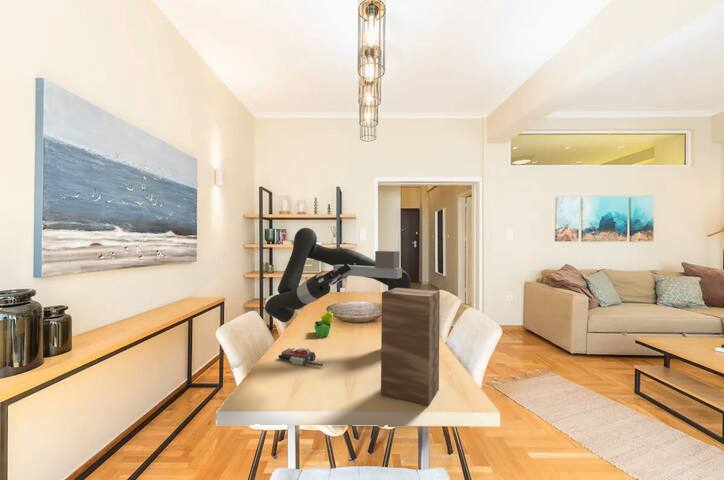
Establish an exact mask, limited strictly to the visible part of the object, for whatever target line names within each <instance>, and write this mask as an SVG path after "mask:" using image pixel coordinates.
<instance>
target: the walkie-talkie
mask: <svg viewBox="0 0 724 480" xmlns="http://www.w3.org/2000/svg"><path fill="white" fill-rule="evenodd" d="M316 356H317V355H316V353H315V351H310V349H309V348H305V347H299V348H297V349H296V348H295V347H292V348H287V349H285V350H282V352H281V354H279V355H277V357H278V358H279V359H281V360H282V361H288V362H291V363H292V364H293V365H297V366H301V367H302V366H304V365H311V366H320V367H323V366H324V363H321V362H316V361H315V362H314V360H315V359H316Z"/></svg>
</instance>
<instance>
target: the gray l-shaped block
mask: <svg viewBox="0 0 724 480" xmlns="http://www.w3.org/2000/svg"><path fill="white" fill-rule="evenodd" d="M374 251H375V254H374V255H375V258H374V259H375V260H374V261H375V266H357V265H349V266H350V270H349V271H348V272H346V273H344V274H343V275H348V276H349V277H362V276H363V278H367V277H378V278H394V279H398V278H402V270H403V267H400V251H399V250H398V251H397V250H374ZM342 266H344V265H333V266H332V267H333V268H332V270H335V269H338V270H339V268H340V267H342ZM348 276H347V277H348Z"/></svg>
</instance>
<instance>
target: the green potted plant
mask: <svg viewBox="0 0 724 480" xmlns="http://www.w3.org/2000/svg"><path fill="white" fill-rule="evenodd" d="M320 318H321V320H319V321H318V320H317V321H314V330H315V335H316V337H317V338H320V337H321V338H326V337H327V338H328V337H329V334H330V330H331V326H332V324H331V323H332V322H333V318H334V313H333V311H332V310H327V311H326V313H324V314H323V315H322V316H321V317H320Z"/></svg>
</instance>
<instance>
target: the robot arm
mask: <svg viewBox="0 0 724 480" xmlns="http://www.w3.org/2000/svg"><path fill="white" fill-rule="evenodd" d="M317 242H318V235H317V234H316V232H315V230H313V229H311V228H309V227H303V228H299V229H298V230H297V232H296V233H295V235H294V238H293V245H292V251H291V255H290V257H289V260H288V262H287V264H286V267H285V269H284V272H283V274H282V277H281V278H280V281H279V285H278V287H277V292H278V294H275V295H272V296H271V297H269V299H268V300H267V301H266V302H265V306H264V311H265V312H266V313H267V314H268V315H269V316H271V317H273V318H274V319H276V320H277V321H280V322H281V323H288V322H289V321H291V319H292V318H293V317H294V315H295V312H296V310H297V311H298V310H300V309H302V308H304V307H306V306H307V305H309V304H311V303H314V302H316V301H317V300H319V299H321V298H323V297H325V296H326V295H328V294H329V293H330V292H331V286H335V285H337V283H338V282H342V281H343V280H344V279H346V278H347V277H348V275H343V274H344V273H346V272H348V271H349V270H350V266H349V265H357V266H375V260H374V259H372V258H370V257H369V256H367V255H364V254H362V253H360V252H358V251H355V250H353V249H350V248H341V247H340V248H339V247H338V248H334V247H333V248H330V247H326V246H323V245H321V244H319V243H317ZM307 259H310V260H315V261H318V262H321V263H324V264H326V265H329V266H331V267H333V265H344V266H342V267H340V268H339V270H338V269H335V270H333V269H331V270H330V271H328V272H326V273H324V274H321V273H316V274H315V275H313V276H312V277H310V278H308V279H307V280H304V281H303V282H302V283H301V280H302V276H303V273H304V268H305V265H306V261H307ZM361 277H363V276H361ZM363 278H364V277H363ZM366 278H368V279H373V280H375V281H377V282H379V283H382V284H383V285H385V286H387V291H388V290H391V289H394V288H407V289H411V277H410V275H409V273H407V272H406V271H405V270H403V269H402V278H398V279H394V278H378V277H366Z"/></svg>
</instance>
